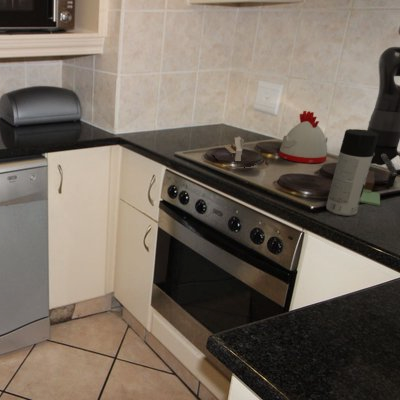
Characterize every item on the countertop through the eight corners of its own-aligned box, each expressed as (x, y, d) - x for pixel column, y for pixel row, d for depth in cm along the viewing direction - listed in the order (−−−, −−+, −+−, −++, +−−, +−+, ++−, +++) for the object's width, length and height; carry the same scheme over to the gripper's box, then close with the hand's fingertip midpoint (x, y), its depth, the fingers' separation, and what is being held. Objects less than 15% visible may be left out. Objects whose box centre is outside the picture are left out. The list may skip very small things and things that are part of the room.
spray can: (361, 218, 114) (385, 136, 106) (330, 215, 115) (352, 134, 107) (349, 207, 120) (371, 129, 112) (320, 205, 121) (340, 127, 113)
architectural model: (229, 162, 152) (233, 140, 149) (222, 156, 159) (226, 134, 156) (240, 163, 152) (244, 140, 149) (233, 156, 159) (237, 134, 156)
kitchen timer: (306, 150, 166) (314, 107, 160) (335, 161, 153) (346, 114, 148) (270, 152, 164) (277, 108, 158) (296, 163, 151) (305, 116, 146)
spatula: (354, 178, 140) (357, 168, 139) (378, 182, 137) (381, 172, 136) (351, 200, 124) (354, 190, 123) (379, 206, 121) (382, 195, 120)
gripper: (353, 125, 126) (338, 183, 132) (420, 133, 118) (400, 194, 125) (354, 120, 132) (339, 176, 138) (418, 127, 124) (399, 186, 130)
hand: (368, 184), depth 131 cm, fingers open, 8 cm apart
